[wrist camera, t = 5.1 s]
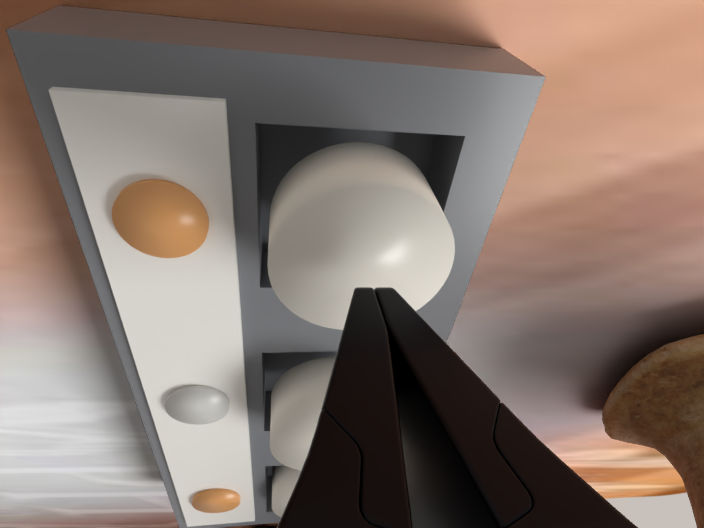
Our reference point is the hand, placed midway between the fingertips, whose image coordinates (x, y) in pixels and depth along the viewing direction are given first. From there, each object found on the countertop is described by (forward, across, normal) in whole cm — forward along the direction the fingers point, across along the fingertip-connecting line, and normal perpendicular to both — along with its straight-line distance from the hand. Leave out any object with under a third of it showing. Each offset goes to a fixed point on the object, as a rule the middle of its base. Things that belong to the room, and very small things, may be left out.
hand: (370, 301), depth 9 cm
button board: (+6, +2, +8) cm, 10 cm away
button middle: (+3, 0, +8) cm, 8 cm away
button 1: (+3, 0, 0) cm, 3 cm away
